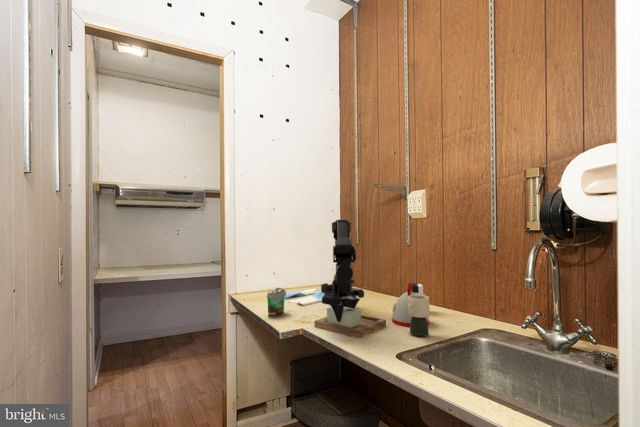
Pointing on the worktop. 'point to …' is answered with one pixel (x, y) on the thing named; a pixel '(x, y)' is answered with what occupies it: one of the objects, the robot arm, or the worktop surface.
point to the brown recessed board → (357, 331)
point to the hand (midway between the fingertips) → (344, 319)
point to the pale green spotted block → (345, 317)
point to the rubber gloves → (308, 300)
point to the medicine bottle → (417, 289)
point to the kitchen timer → (403, 310)
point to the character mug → (418, 314)
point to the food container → (276, 302)
